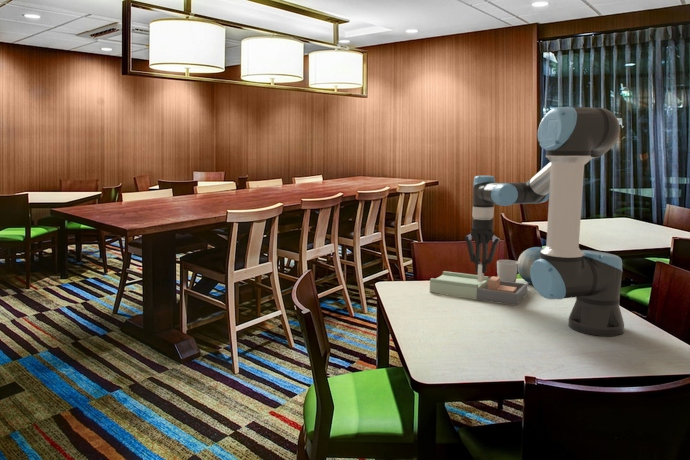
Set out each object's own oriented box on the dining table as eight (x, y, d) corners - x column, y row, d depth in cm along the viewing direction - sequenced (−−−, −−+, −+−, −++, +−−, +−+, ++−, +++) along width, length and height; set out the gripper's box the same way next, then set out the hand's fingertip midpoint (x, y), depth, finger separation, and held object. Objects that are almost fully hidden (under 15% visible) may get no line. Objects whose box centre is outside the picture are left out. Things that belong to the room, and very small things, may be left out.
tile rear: (487, 295, 190) (495, 296, 188) (487, 279, 189) (496, 280, 187) (491, 291, 195) (499, 292, 193) (492, 276, 194) (500, 277, 192)
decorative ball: (553, 291, 197) (555, 252, 195) (512, 286, 205) (514, 248, 202) (558, 282, 210) (561, 245, 208) (520, 278, 217) (522, 242, 215)
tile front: (496, 288, 188) (495, 297, 188) (513, 291, 185) (512, 299, 185) (500, 285, 193) (499, 293, 193) (516, 287, 190) (516, 295, 190)
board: (476, 299, 187) (477, 285, 186) (429, 292, 196) (429, 278, 196) (488, 289, 200) (488, 276, 199) (443, 283, 209) (444, 270, 208)
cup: (520, 289, 199) (521, 264, 198) (499, 289, 200) (500, 264, 198) (513, 284, 207) (515, 259, 206) (493, 284, 208) (494, 259, 206)
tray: (516, 305, 179) (517, 294, 179) (476, 299, 187) (477, 288, 186) (526, 294, 193) (527, 283, 192) (489, 289, 200) (489, 279, 199)
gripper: (503, 218, 189) (500, 281, 193) (468, 215, 196) (466, 276, 200) (498, 220, 183) (495, 285, 187) (462, 218, 190) (460, 281, 193)
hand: (480, 281), depth 193 cm, fingers closed
